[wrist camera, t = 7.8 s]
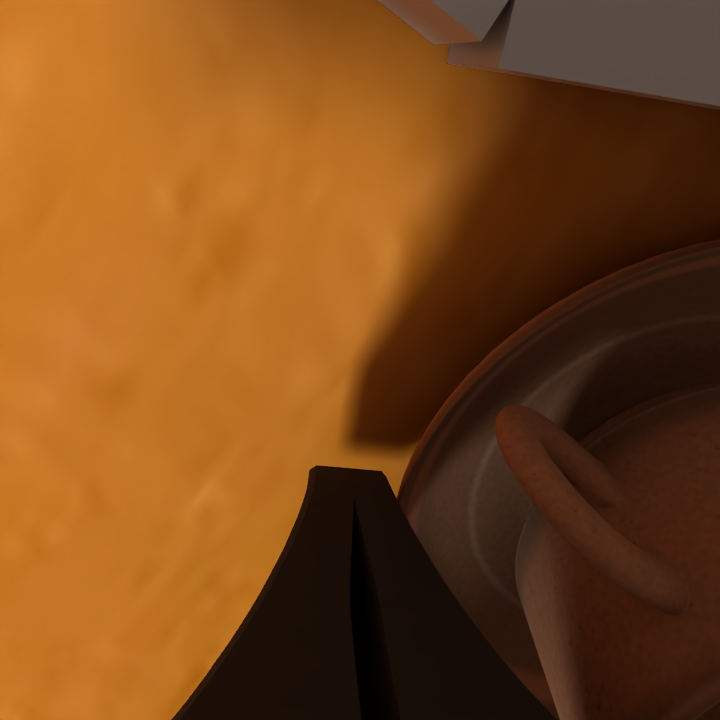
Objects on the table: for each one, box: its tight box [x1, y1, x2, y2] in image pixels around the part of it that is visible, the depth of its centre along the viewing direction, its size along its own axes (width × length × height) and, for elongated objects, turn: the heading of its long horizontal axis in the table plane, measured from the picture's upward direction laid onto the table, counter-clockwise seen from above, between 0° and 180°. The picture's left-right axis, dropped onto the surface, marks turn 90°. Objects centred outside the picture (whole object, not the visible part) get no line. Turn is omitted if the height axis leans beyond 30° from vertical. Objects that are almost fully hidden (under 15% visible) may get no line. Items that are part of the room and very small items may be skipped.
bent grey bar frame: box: [378, 0, 720, 110], centre depth 11 cm, size 21×19×3 cm
